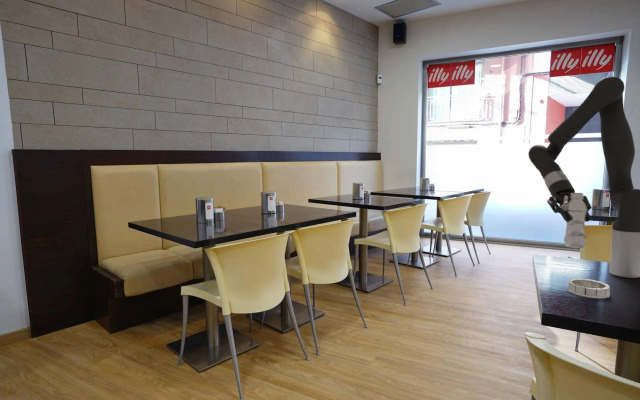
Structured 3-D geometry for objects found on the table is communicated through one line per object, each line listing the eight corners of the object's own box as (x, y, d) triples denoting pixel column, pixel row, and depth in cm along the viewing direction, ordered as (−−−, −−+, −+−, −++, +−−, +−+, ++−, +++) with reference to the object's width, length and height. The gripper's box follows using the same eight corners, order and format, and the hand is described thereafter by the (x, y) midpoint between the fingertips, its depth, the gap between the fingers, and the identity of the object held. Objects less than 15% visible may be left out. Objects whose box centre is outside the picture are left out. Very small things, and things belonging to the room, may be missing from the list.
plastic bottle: (589, 250, 133) (592, 194, 131) (568, 249, 134) (570, 194, 132) (580, 246, 139) (583, 192, 137) (560, 245, 141) (562, 192, 138)
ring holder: (577, 284, 133) (578, 276, 133) (616, 294, 124) (616, 285, 123) (561, 290, 127) (561, 282, 127) (599, 301, 118) (600, 292, 117)
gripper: (544, 179, 141) (564, 214, 131) (582, 178, 142) (605, 213, 131) (535, 192, 147) (553, 227, 137) (572, 191, 147) (593, 226, 137)
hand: (578, 220), depth 134 cm, fingers closed on plastic bottle, 6 cm apart
